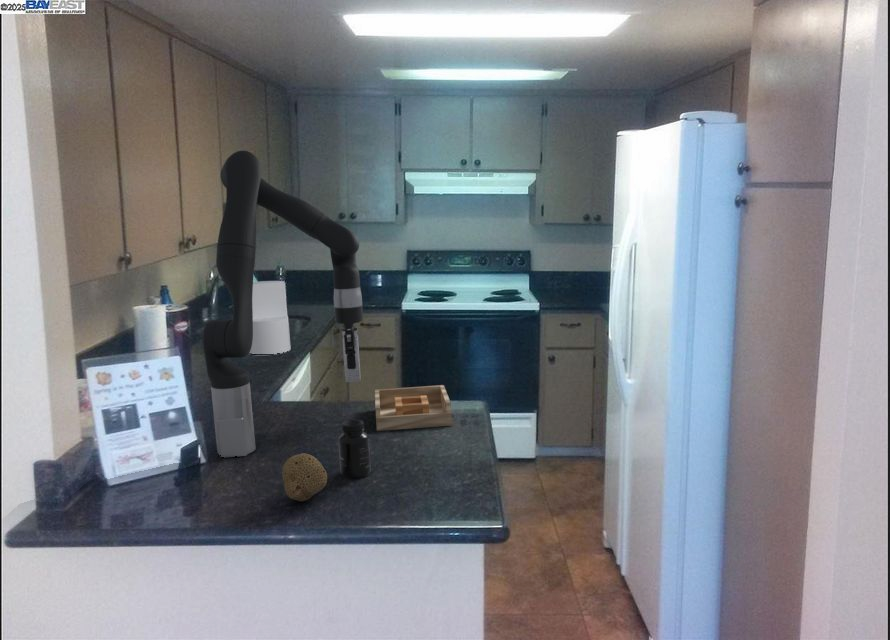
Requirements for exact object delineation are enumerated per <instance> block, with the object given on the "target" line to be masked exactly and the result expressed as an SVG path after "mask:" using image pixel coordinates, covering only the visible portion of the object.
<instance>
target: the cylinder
mask: <svg viewBox="0 0 890 640" xmlns="http://www.w3.org/2000/svg"><path fill="white" fill-rule="evenodd" d="M286 295H287V294H286V282H285V281H284V280H262V281H253V293H252V309H253V341H252V347H251V350H250V352H249V353H252V354H274V355H278V354H277V353H280V354H283V352H284V353H287V351H288V352H290V351H291V349H292V347H291V336H290V323H289V316H288V308H287V307H288V304H287V296H286Z"/></svg>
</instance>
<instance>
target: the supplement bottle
mask: <svg viewBox="0 0 890 640" xmlns="http://www.w3.org/2000/svg"><path fill="white" fill-rule="evenodd" d="M341 431H342V434H340V436H339V437H338V454H339V455H338V456H339V470H340V475H341V476H342V477H343V478H344V479H349V480H350V479H351V480H355V479H356V480H357V479H362V478H365V477H367V476H369V475H370V473H371V470H372V468H371V467H372V465H371V450H370V449H371V448H370V437H369V434H368V433H367V432H365V425H364V421H363V420H361V419H350V420H345V421H343V422H342V423H341Z"/></svg>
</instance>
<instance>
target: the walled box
mask: <svg viewBox="0 0 890 640" xmlns="http://www.w3.org/2000/svg"><path fill="white" fill-rule="evenodd" d="M374 399H375V400H374V401H375V405H374V406H375V421H376V431H377V432H381V431H395V430H396V431H398V430H408V429H421V428H422V429H423V428H433V427H436V428H437V427H449V426H450V427H451V426H453V422H452V421H453V417H452V415H453V414H452V406H451V405H452V404H451V400H450V398H449V395H448V393H447V390H446V387H445V385H444V384H440V385H439V384H438V385H426V386H424V385H423V386H412V387H410V386H409V387H396V388H382V389H381V388H380V389H374Z"/></svg>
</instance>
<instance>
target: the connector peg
mask: <svg viewBox="0 0 890 640" xmlns="http://www.w3.org/2000/svg"><path fill="white" fill-rule="evenodd" d="M354 342H355V341H354ZM356 342H357V345H356V346H355V352H356V354H355V362H356V368H355V369H348V368H347V356H346V353H345V346H344V339H343V338H342V353H343V366H344V367H343V369H344V382H345V383H357V382H358V383H360V382H361V363H360V348H359V346H360V345H359V335H357V336H356ZM348 350H353V347H348Z"/></svg>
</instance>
